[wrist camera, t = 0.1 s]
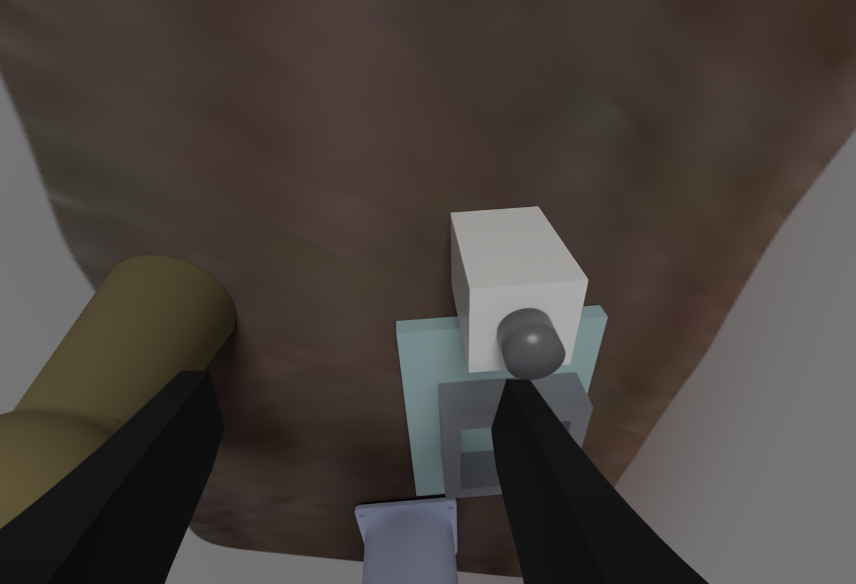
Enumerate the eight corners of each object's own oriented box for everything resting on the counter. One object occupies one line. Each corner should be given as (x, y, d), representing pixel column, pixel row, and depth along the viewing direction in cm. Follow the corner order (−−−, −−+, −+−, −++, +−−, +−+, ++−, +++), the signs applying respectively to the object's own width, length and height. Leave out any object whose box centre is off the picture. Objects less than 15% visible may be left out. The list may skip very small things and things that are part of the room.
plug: (529, 279, 21) (584, 394, 15) (451, 285, 21) (474, 403, 15) (538, 206, 19) (607, 307, 13) (450, 212, 19) (477, 317, 12)
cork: (165, 364, 23) (15, 601, 14) (73, 280, 19) (-204, 523, 10) (260, 330, 22) (166, 562, 13) (182, 236, 18) (-21, 462, 9)
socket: (559, 470, 32) (575, 517, 29) (416, 483, 31) (418, 531, 28) (599, 305, 22) (629, 350, 19) (396, 321, 22) (396, 369, 19)
